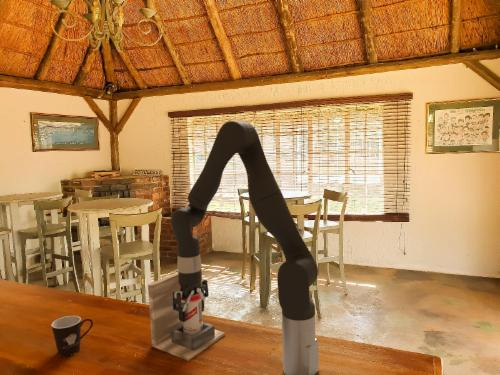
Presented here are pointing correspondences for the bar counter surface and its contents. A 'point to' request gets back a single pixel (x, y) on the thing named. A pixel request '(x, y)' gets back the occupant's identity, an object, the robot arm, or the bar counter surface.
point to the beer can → (193, 315)
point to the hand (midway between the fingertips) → (192, 316)
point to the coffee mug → (68, 334)
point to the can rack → (175, 322)
